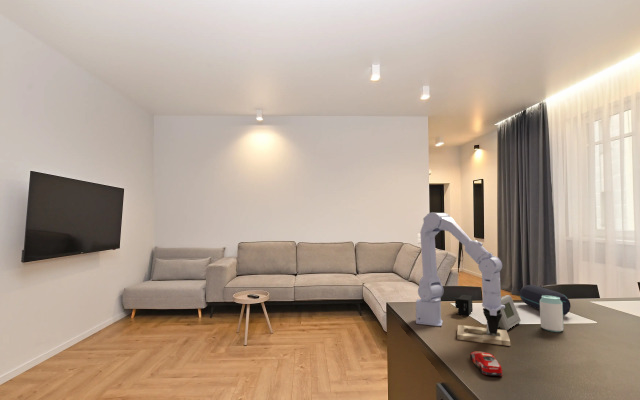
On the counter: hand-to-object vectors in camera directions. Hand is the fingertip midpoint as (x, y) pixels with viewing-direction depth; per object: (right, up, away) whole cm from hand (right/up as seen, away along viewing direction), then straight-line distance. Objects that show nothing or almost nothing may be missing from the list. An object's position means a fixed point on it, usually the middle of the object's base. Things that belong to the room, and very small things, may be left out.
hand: (492, 331), depth 117 cm
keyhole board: (-3, -2, +1) cm, 4 cm away
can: (+27, -3, +9) cm, 28 cm away
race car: (-14, -1, -23) cm, 27 cm away
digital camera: (+4, -5, +32) cm, 33 cm away
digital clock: (+12, -3, +14) cm, 19 cm away
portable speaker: (+41, -5, +36) cm, 55 cm away
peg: (0, -2, 0) cm, 2 cm away
